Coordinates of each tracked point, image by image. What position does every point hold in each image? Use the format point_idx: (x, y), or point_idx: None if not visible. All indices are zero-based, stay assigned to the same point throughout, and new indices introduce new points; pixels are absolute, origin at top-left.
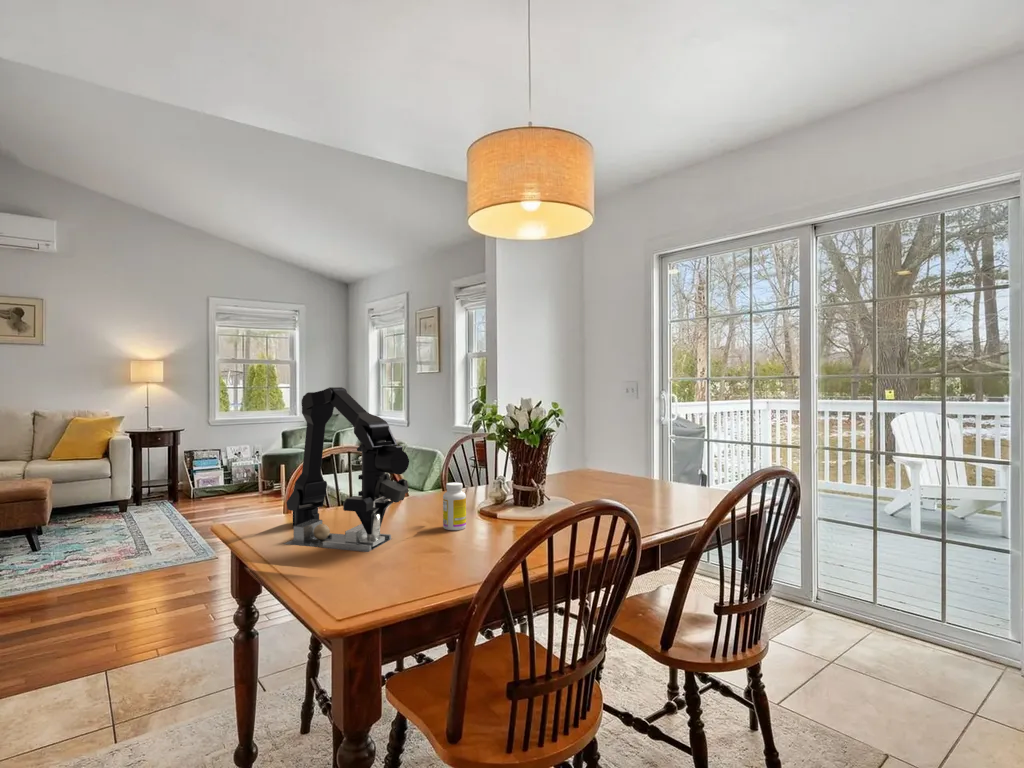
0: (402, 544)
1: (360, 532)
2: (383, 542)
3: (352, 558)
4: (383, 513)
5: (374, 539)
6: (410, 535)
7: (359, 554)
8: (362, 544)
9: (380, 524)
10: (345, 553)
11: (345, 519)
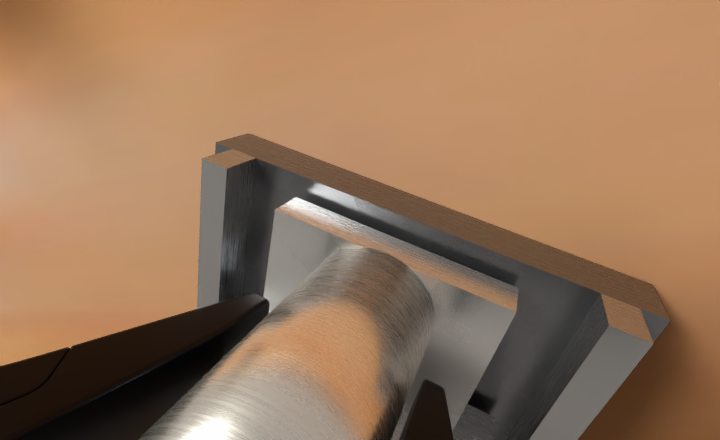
0: (236, 41)
1: None
2: (329, 201)
3: (628, 401)
4: (8, 398)
5: (425, 304)
6: (48, 37)
7: None
8: (556, 404)
9: (210, 322)
10: None
11: None
